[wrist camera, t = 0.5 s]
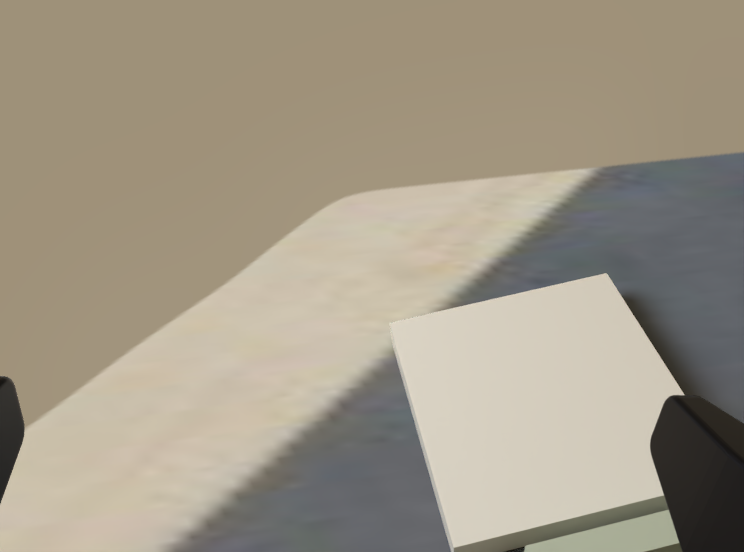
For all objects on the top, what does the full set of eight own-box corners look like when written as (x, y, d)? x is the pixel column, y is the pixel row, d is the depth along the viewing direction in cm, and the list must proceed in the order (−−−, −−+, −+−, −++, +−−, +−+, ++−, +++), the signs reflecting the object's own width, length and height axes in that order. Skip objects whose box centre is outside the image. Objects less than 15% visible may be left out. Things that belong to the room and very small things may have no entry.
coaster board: (724, 496, 23) (737, 477, 22) (454, 564, 23) (453, 547, 22) (601, 295, 30) (606, 273, 29) (392, 343, 29) (389, 322, 28)
